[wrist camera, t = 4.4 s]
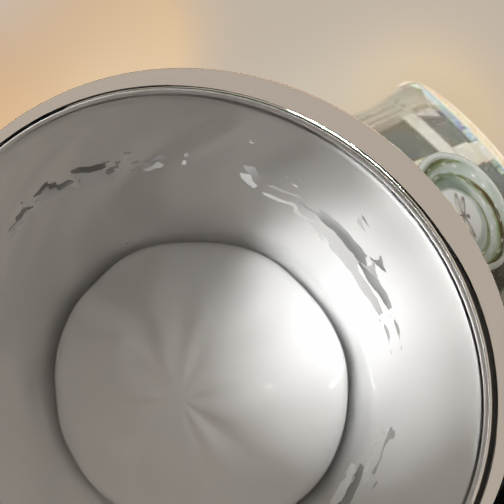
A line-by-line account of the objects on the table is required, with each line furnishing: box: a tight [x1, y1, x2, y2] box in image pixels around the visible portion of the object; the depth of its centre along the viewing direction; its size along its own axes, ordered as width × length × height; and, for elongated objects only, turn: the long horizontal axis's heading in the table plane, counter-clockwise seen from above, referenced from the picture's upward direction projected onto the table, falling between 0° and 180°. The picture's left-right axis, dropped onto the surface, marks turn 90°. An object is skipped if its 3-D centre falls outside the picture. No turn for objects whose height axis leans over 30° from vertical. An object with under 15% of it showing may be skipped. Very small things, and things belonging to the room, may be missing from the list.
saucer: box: [418, 152, 504, 271], centre depth 18 cm, size 10×10×2 cm
